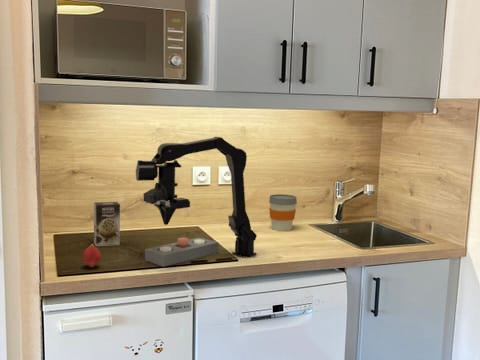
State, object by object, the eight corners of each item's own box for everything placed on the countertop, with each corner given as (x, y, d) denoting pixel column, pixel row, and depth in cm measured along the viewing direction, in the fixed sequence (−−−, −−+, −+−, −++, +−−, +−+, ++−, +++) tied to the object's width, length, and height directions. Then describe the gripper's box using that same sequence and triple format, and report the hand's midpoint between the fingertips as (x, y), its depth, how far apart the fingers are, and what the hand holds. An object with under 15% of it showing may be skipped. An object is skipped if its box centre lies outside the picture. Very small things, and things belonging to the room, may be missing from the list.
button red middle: (190, 247, 187) (190, 239, 186) (182, 249, 184) (182, 240, 184) (183, 244, 190) (183, 236, 189) (175, 246, 187) (175, 238, 186)
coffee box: (96, 246, 196) (95, 205, 194) (93, 242, 202) (93, 202, 199) (120, 245, 199) (120, 204, 197) (117, 241, 205) (117, 201, 203)
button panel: (217, 252, 193) (218, 242, 193) (163, 266, 174) (163, 255, 174) (199, 247, 200) (199, 237, 200) (145, 260, 181) (145, 249, 181)
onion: (79, 268, 170) (78, 244, 168) (90, 263, 175) (89, 240, 174) (93, 271, 168) (93, 247, 166) (104, 266, 173) (104, 242, 172)
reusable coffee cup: (262, 228, 236) (263, 195, 234) (280, 224, 245) (282, 193, 243) (282, 233, 227) (284, 199, 225) (301, 229, 236) (302, 197, 234)
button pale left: (173, 256, 181) (173, 248, 181) (164, 258, 178) (164, 250, 178) (166, 254, 184) (166, 245, 184) (157, 256, 181) (157, 247, 181)
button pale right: (206, 248, 193) (206, 240, 193) (198, 250, 190) (198, 242, 190) (199, 246, 196) (199, 238, 195) (191, 248, 193) (191, 240, 192)
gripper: (131, 178, 178) (130, 223, 180) (165, 185, 165) (164, 233, 168) (156, 176, 186) (156, 218, 188) (191, 182, 174) (190, 228, 176)
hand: (165, 224), depth 180 cm, fingers closed
